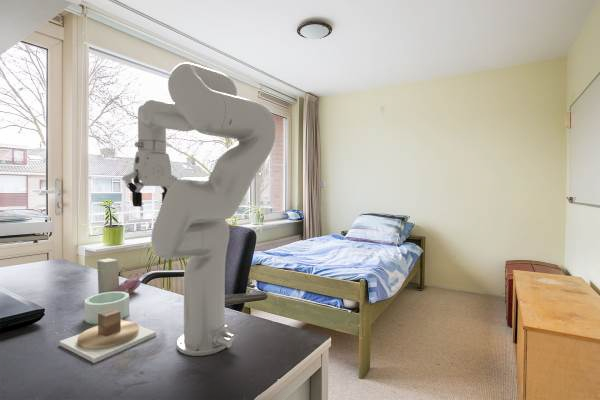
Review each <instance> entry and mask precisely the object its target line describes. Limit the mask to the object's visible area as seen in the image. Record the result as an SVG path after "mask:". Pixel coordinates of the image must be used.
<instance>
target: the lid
mask: <svg viewBox="0 0 600 400" xmlns="http://www.w3.org/2000/svg"><path fill="white" fill-rule="evenodd" d="M139 326H140V325H139ZM139 326H138V323H136V322H133V321H128V320H125V321H121V318H120V311H118V310H115V309H109V310H106V311H103V312H100V313H98V324H96V325H95V326H93V327H89V328H88V329H86V330H84V331H83V332H81V333H79V334H80V335H79V336H78V339H77V341H78V346H79V347H81V348H84V349H105V348H110V347H114V346H118V345H121V344H124V343H126V342H128V341H130V340H132V339H133V338H135V337H136V336H137V335H138V333H139Z"/></svg>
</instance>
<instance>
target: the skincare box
mask: <svg viewBox="0 0 600 400" xmlns="http://www.w3.org/2000/svg"><path fill="white" fill-rule="evenodd" d="M96 261H97V284H98V285H97V287H98V288H97V290H98V291H97V292H98V293H97V294H100V293H106V292H112V291H114V290H115V289H116V288H117V287H118V286H119V285H120V278H119V277H120V276H119V274H120V273H119V272H120V271H119V260H118V259H117V258H116V259H115V258H111V257H107V258H104V259H97V260H96Z"/></svg>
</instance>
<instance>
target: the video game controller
mask: <svg viewBox="0 0 600 400" xmlns="http://www.w3.org/2000/svg"><path fill="white" fill-rule="evenodd" d="M141 284H142V281H141V280H140V279H139V278H136V277H133V278H127V279H126V280H124V281H123V282H121V283H119V286H118V287H117V288H116V289H115V290H114V291H112V292H126V293H129V295H132V294H133V293H134V292H135V291H136V290H137V288H139V287H140V285H141Z"/></svg>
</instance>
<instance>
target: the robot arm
mask: <svg viewBox="0 0 600 400" xmlns="http://www.w3.org/2000/svg"><path fill="white" fill-rule="evenodd" d="M171 70H172V71H171V72H170V74H169V76H168V80H167V88H168V92H169V96H170V99H171V100H172V101H167V100H166V101H165V100H162V99H157V98H149V99H148V100H146V101H145V103H143V104H142V105H140V106H139V107H138V110H137V139H138V140H137V141H136V142H134V147H136V148H137V150H138V151H136V152H135V156H134V162H133V171H132V172H130V173H128V174H126V175H124V176H123V177H122V179H123V181H124V184H125V186H126V188H128V189H129V191H130V193H131V194H132V195H131V199H132V201H131V202H132V206H133V207H143V193H142V192H141V190H142V189H144V187H160V188H161V189H162V191H161V192H162V194H161V197H162V198H161V205H160V208H159V211H158V214H157V216H156V219H155V222H154V224H153V226H152V227H153V228H152V231H151V237H150V239H151V240H150V241H151V247H152V250H153V252H154V254H155V255H156V256H157V257H159V258H161V259H164V260H176V259H179V258H180V259H181V258H182V259H183V258H187V257H190V258H189V260H188V261H187V264H186V266H185V269H184V274H183V334H182V335H181V336H180V337H178V339H177V340H176V348H177V351H179V352H180V353H181V354H183V355H186V356H192V357H197V356H198V357H202V356H209V355H212V354H216V353H218V352H219V353H220V352H221V351H223V350H224V349H226V348H228V349H229V348H231V347H232V345H233V341H235V339H236V335H235V334H234V333H230V332H229V330H228V327H229V326H228V324H226V323H225V320H226V319H225V314H226V313H225V308H226V307H225V305H226V304H225V303H226V299H225V295H226V291H225V290H226V289H225V288H226V287H225V286H226V281H225V280H226V257H227V251H228V250H227V249H228V247H229V246H228V245H229V241H230V226H229V224H228V222H227V220H228V219H231V218H232V217H234V216H235V214H236V213H237V211H238V209H239V208H240V206H241V204H242V202H243V200H244V198H245V196H246V194H247V193H248V190H249V188H250V187H251V184H252V182H253V180H254V178H255V177H256V175H257V173H258V171H260V169H261V167H262V165H264V163H265V162H266V161H267V158H268V157H269V155H270V153H271V151H272V149H273V146H274V144H275V141H276V132H277V130H276V127H277V126H276V122H275V118H274V116H273V114H272V112H271V110H269V109H268V108H267V107H266V106H264V105H262V104H261V103H258V102H257V101H254V100H251V99H248V98H245V97H240V96H238V90H237V89H238V88H237V86H236V84H235V82H234V81H233V80H232V79H231V77H229V76H228V75H226V74H225V73H222V72H220V71H217V70H214V69H211V68H208V67H206V66H205V67H204V66H203V65H202V66H201V65H199V64H194V63H191V62H181V63H179V64H178V65H176V66H175V67H173V69H171ZM167 130H174V131H180V132H191V131H194V130H195V131H197V132H198V133H200V134H202V135H207V136H212V137H220V138H226V139H233V140H236V142H235V143H234V144H233V145H231V146H230V147H228V148H227V149H226V150H225V151H224V152H222V154H221V155H220V156H219V157H218V158H217V160H216V162H215V165H214V166H213V169H212V170H211V173H210V174H209V175H208V176H205V177H194V176H193V177H191V176H189V177H187V176H186V177H181V178H177V177H176V176H174V175H173V174H172V165H171V160H170V159H171V158H170V156H169V153H167ZM132 179H133V181H132Z"/></svg>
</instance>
